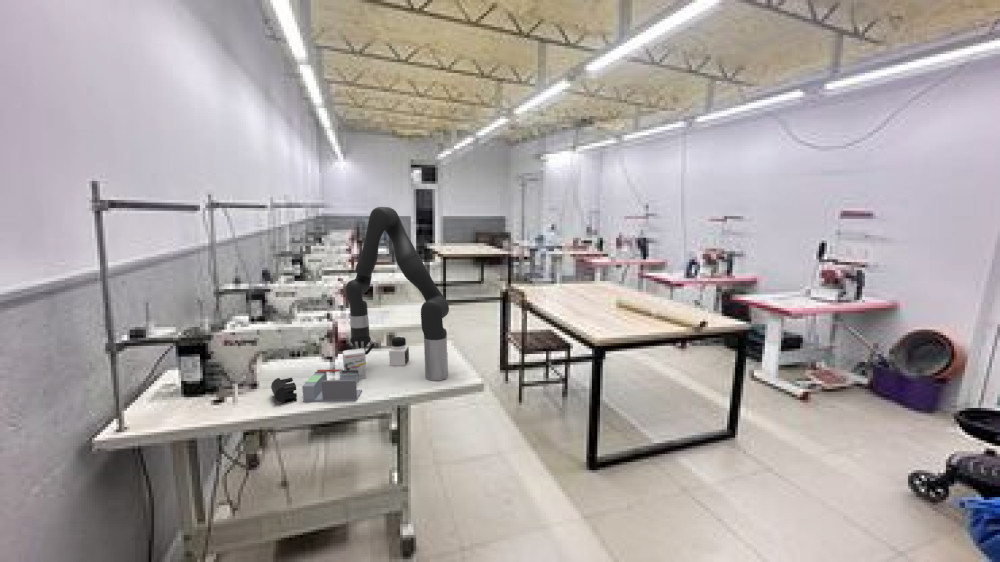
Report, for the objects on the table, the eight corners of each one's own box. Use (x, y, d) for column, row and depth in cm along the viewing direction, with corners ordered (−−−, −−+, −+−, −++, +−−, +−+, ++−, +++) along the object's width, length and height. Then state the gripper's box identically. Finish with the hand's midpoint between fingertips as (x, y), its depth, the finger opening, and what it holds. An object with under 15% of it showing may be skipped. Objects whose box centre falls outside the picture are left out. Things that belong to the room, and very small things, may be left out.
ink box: (345, 382, 173) (343, 354, 171) (344, 377, 177) (342, 350, 175) (367, 379, 176) (365, 351, 174) (365, 374, 181) (364, 347, 179)
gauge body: (366, 385, 170) (365, 366, 169) (356, 401, 157) (355, 380, 155) (317, 386, 169) (315, 367, 168) (303, 402, 156) (301, 381, 154)
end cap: (271, 396, 161) (270, 379, 159) (292, 391, 165) (291, 375, 163) (275, 406, 153) (274, 388, 151) (297, 401, 157) (296, 384, 155)
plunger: (358, 382, 171) (358, 367, 170) (356, 385, 167) (355, 370, 166) (320, 382, 170) (319, 368, 169) (317, 386, 167) (316, 371, 166)
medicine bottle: (405, 366, 190) (404, 340, 188) (389, 366, 190) (388, 340, 188) (409, 360, 197) (408, 335, 195) (393, 360, 197) (392, 335, 195)
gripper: (377, 322, 187) (379, 360, 190) (346, 322, 187) (349, 360, 190) (373, 327, 180) (375, 366, 183) (341, 327, 179) (343, 366, 182)
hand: (361, 363), depth 186 cm, fingers closed
